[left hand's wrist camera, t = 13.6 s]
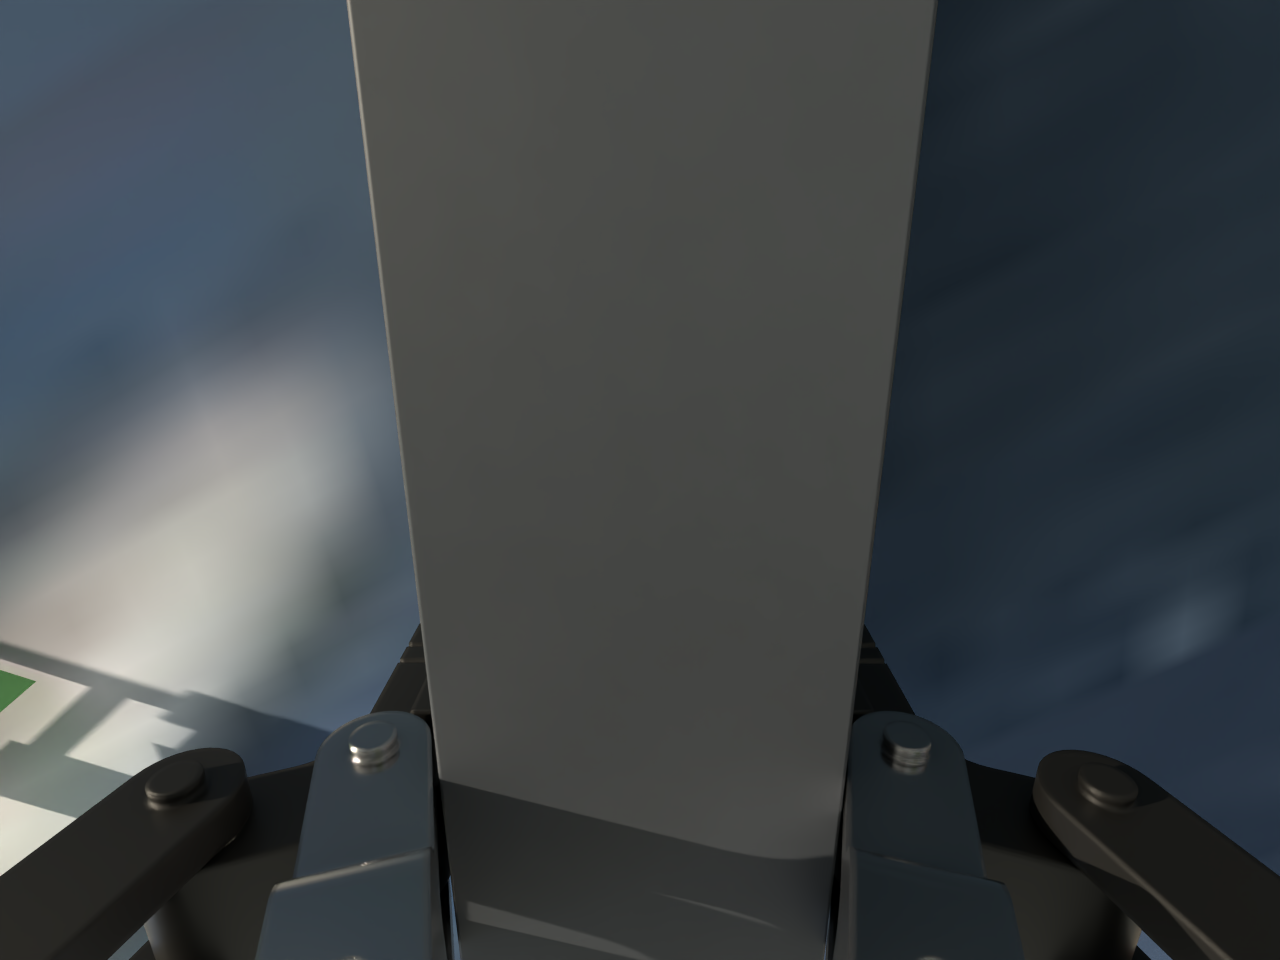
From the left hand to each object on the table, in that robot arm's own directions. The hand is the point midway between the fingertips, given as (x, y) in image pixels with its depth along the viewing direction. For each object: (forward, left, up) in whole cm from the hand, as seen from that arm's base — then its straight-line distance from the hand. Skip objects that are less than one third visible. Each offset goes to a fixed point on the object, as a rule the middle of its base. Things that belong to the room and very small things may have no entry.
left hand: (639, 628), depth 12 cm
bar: (-21, +23, -2) cm, 31 cm away
